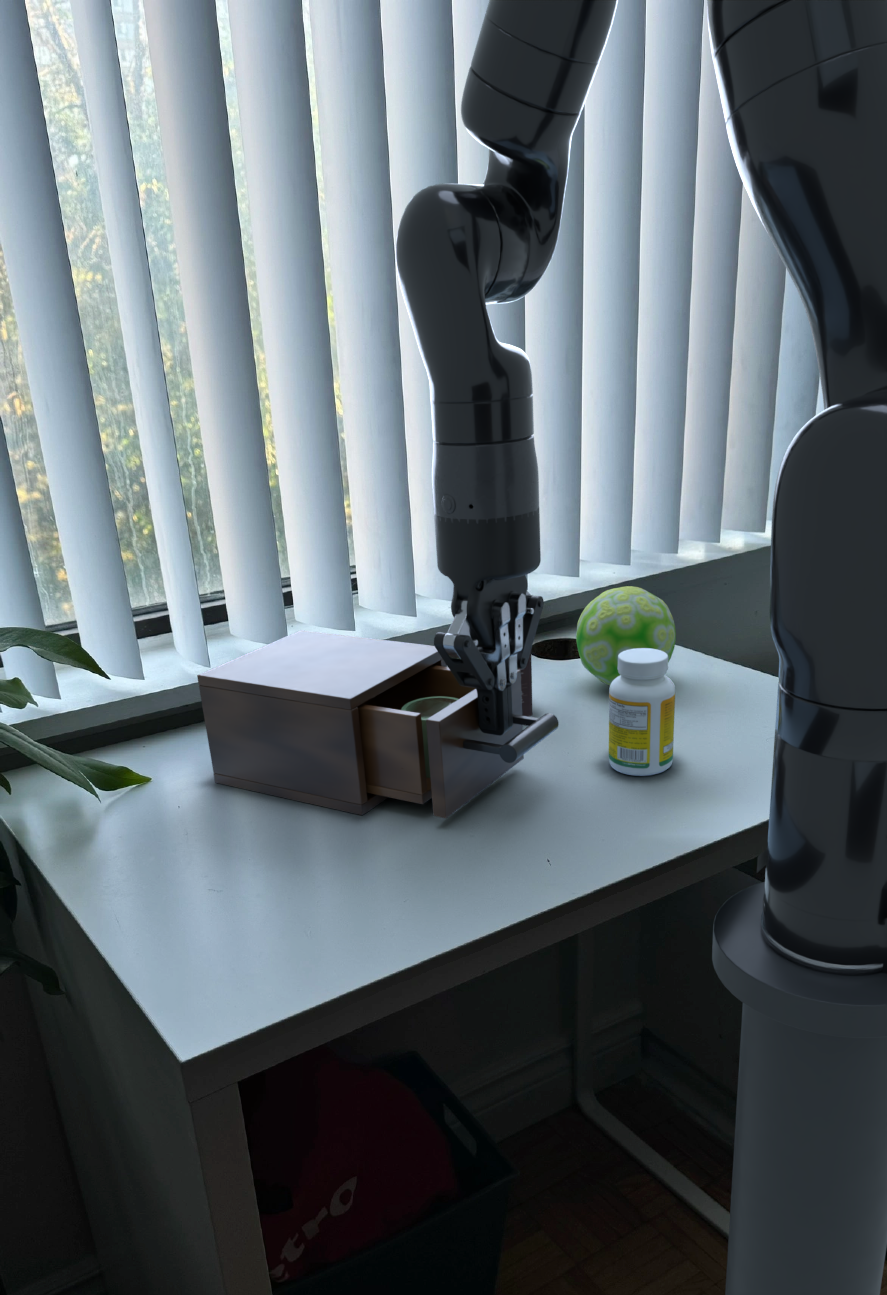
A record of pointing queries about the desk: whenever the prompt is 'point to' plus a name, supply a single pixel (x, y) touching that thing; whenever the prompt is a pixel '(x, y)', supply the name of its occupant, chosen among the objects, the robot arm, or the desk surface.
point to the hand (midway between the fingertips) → (496, 730)
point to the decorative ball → (622, 629)
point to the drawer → (440, 742)
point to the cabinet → (302, 714)
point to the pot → (427, 710)
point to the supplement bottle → (641, 713)
